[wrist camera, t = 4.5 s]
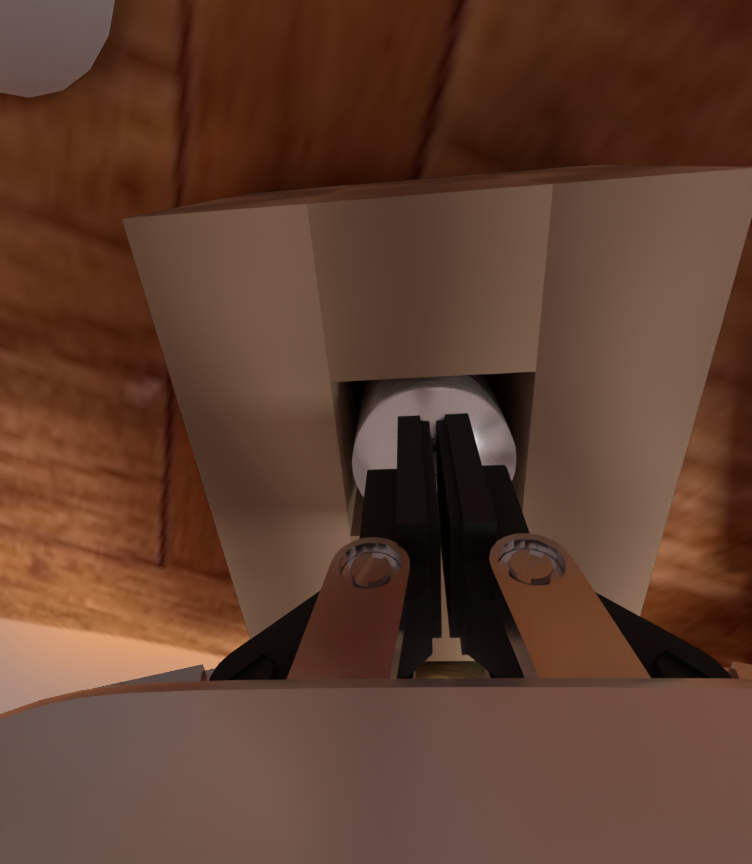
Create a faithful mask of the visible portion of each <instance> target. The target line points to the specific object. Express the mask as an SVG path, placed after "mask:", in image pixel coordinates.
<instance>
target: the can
mask: <svg viewBox="0 0 752 864" xmlns="http://www.w3.org/2000/svg"><path fill="white" fill-rule="evenodd" d="M114 3H115V0H0V93H5V94H11V95H17V96H23V97H28V98H31V97H35V96H40V95H45V94H50V93H54V92H59V91H63V90H64V89H66V88H67V87H68V86H70V85H71V84H72V83H73V82H75V81H76V80H77V79H79V78H80V77H81V76H83V75H84V74H85V73H86V72H88V71H89V70H90V69H91V67H92V65H93V63H94V61H95V60H96V58H97V56H98V54H99V52H100V51H101V49H102V47H103V45H104V43H105V42H106V40H107V38H108V36H109V31H110V25H111V20H112V14H113V9H114Z"/></svg>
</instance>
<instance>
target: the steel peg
mask: <svg viewBox="0 0 752 864" xmlns="http://www.w3.org/2000/svg"><path fill="white" fill-rule="evenodd" d="M460 413H468V415H469V418H470V422H471V426H472V430H473V433H474V437H475V441H476V444H477V448H478V452H479V456H480V459H481V463H482V465H506V467H507V469H508V472H509V475H510V478H511V481H512V480H513V476H514V473H515V468H516V449H515V444H514V441H513V438H512V435H511V433H510V430H509V428H508V425H507V423H506V420H505V418H504V415H503V413H502V410H501V408H500V406H499V403H498V401H497V398H496V396H495V393H494V391H493V388H492V386H491V383H490V381H489V378H488V376H487V374H478V375H459V376H440V377H420V378H401V379H381V380H365V383H364V389H363V395H362V401H361V407H360V413H359V419H358V425H357V431H356V437H355V443H354V449H353V457H352V470H353V475H354V479H355V482H356V485H357V487H358V489H359V491H360V493H361V494H362V496H363V497H364V493H365V484H366V475H367V470H373V469H397V427H398V416H416V415H420V421H429V423H430V433H431V442H432V451H433V460H434V469H435V479H436V488H437V452H436V420H444V418H445V414H460Z"/></svg>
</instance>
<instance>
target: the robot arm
mask: <svg viewBox="0 0 752 864" xmlns="http://www.w3.org/2000/svg"><path fill="white" fill-rule="evenodd" d="M436 452H437V488H436V479H435V469H434V460H433V451H432V442H431V433H430V423H429V421H420V415H416V416H398V427H397V469H373V470H367V475H366V484H365V493H364V502H363V511H362V520H361V529H360V538H359V539H358V540H354V541H352V542H350V543H348V544H346V545H345V546H343V547H342V548H341V549H340V550H339V551H338V552H337V553H336V554H335V556H334V558H333V559H332V561H331V564H330V566H329V569H328V571H327V574H326V577H325V579H324V582H323V585H322V587H321V590H320V591H319V592H317V593H316V594H314V595H313V596H312V597H310V598H309V599H307V600H306V601H304V602H303V603H302V604H300V605H299V606H297V607H296V608H294V609H293V610H292V611H290V612H289V613H287V614H286V615H284V616H283V617H282V618H280V619H279V620H277V621H276V622H274V623H273V624H272V625H270V626H269V627H267V628H266V629H264V630H263V631H262V632H260V633H259V634H257V635H256V636H254V637H253V638H252V639H250V640H249V641H247V642H246V643H244V644H243V645H242V646H240V647H239V648H237V649H236V650H234V651H233V652H232V653H230V654H229V655H228V656H227V657H226V658H225V659H223V660H222V661H221V662H220V663H219V664H218V666H217V667H216V668H215V669H210V670H206V671H205V669H204V667H203V665H198V666H193V667H189V668H184V669H180V670H175V671H170V672H166V673H162V674H157V675H153V676H148V677H143V678H139V679H134V680H130V681H125V682H120V683H116V684H112V685H107V686H102V687H98V688H93V689H88V690H81V691H76V692H72V693H68V694H64V695H60V696H55V697H51V698H47V699H43V700H39V701H37V702H34V703H31V704H28V705H25V706H22V707H20V708H17V709H14V710H11V711H8V712H5V713H2V714H0V864H752V665H751V664H745V663H740V662H734V661H733V662H732V665H731V667H730V668H727V667H722V666H721V665H720V664H719V663H718V662H717V661H716V660H715V659H713V658H712V657H710V656H709V655H707V654H706V653H704V652H703V651H701V650H700V649H698V648H696V647H695V646H693V645H691V644H689V643H687V642H685V641H684V640H682V639H680V638H678V637H676V636H675V635H673V634H671V633H669V632H667V631H665V630H664V629H662V628H660V627H658V626H656V625H655V624H653V623H651V622H649V621H647V620H646V619H644V618H642V617H640V616H638V615H636V614H635V613H633V612H631V611H629V610H627V609H626V608H624V607H622V606H620V605H618V604H616V603H615V602H613V601H611V600H609V599H607V598H606V597H604V596H602V595H600V594H598V593H596V592H595V591H594V590H593V588H592V587H591V585H590V584H589V582H588V581H587V579H586V577H585V576H584V574H583V573H582V571H581V570H580V568H579V567H578V565H577V564H576V562H575V561H574V559H573V558H572V556H571V555H570V554H569V553H568V551H567V550H566V549H565V548H564V547H563V546H561V545H560V544H558V543H557V542H555V541H554V540H551V539H549V538H546V537H544V536H541V535H535V534H530V533H529V530H528V527H527V524H526V521H525V518H524V515H523V512H522V509H521V507H520V504H519V501H518V498H517V495H516V492H515V489H514V486H513V484H512V481H511V478H510V475H509V472H508V469H507V467H506V465H482V463H481V459H480V456H479V452H478V448H477V444H476V441H475V437H474V433H473V430H472V426H471V422H470V418H469V415H468V413H460V414H445V418H444V420H436ZM441 556H442V566H443V576H444V585H445V595H446V605H447V615H448V624H449V634H450V638H460V644H461V652H462V655H469V656H470V657H471V658H472V659H474V660H475V661H476V662H478V663H479V664H480V665H481V666H483V675H484V678H430V679H416V669H417V668H418V667H419V666H420V665H421V664H422V663H423V662H425V661H426V660H427V659H428V658H429V657H430V656H431V655H432V654H433V646H432V638H442V613H441Z"/></svg>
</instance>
